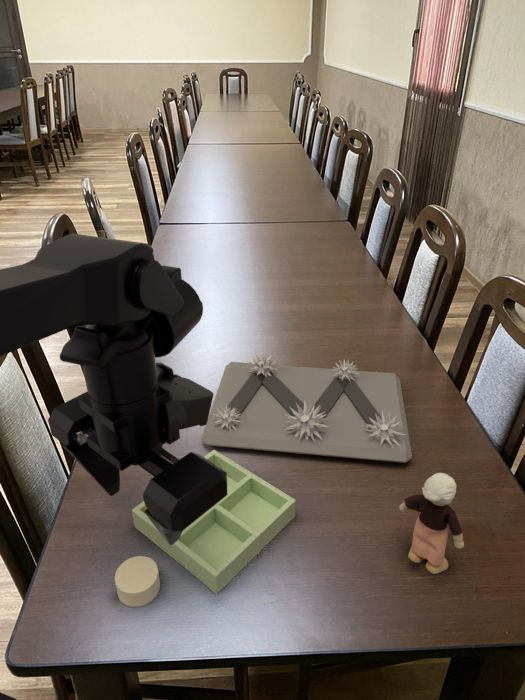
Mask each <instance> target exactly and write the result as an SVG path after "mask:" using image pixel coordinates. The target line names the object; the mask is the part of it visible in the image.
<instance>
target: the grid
mask: <svg viewBox="0 0 525 700" xmlns="http://www.w3.org/2000/svg"><path fill="white" fill-rule="evenodd" d="M203 457H204V458H206V459H207V460H209V461H210V462H212V463H213V464H215V465H216V466H218V467H219V468H221V469H222V470H224V471H225V472H227V496H225V497H224V498H223V499H222V500H220V501H219V502H218V503H217V504H215V505H214V506H213V507H212V508H211V509H209V510H208V511H207V512H206V513H204V514H203V515H202V516H201V517H199V518H198V519H197V520H196V521H194V522H193V523H192V524H191V525H189V526H188V527H187V528H186V529H184V530H183V531H182V534H181V536H180V538H179V540H178V541H176V542H175V543H174V544H173V545H169V544H168V543H167V542H166V540H165V539H164V538H163V537H162V535H161V534H160V532H159V531H158V530H157V528H156V527H155V526H154V524H153V523H152V521H151V520H150V519H149V517H148V516H147V515H146V513H145V510H146V509H148V508H147V507H146V505H145V503H144V500H143V501H142V502H140V503H139V504H138V505H137V506H135V507H134V508H132V509H131V514H132V520H133V525H134V526H133V527H134V528H135V529H137V530H138V531H139V532H140V533H141V534H143V535H144V537H146V538H147V539H149V540H150V541H151V542H152V543H153V544H155V545H156V546H157V547H158V548H159V549H160V550H162V551H163V552H164V553H166V554H167V555H169V556H170V557H171V558H172V559H173V560H174V561H176V562H177V563H178V564H180V565H181V566H182V567H183V568H184V569H185V570H187V571H188V572H189V573H190V574H192V575H193V576H194V577H195V578H196V579H197V580H198V581H200V582H201V583H203V584H204V585H205V586H207V588H208V589H210V590H211V591H212V592H214V594H216V595H218V594H219V593H220V592H221V591H222V590H223V589H224V588H225V587H226V586H227V585H228V584H229V583H230V582H231V581H232V580H233V579H234V578H235V577H236V576H237V575H238V574H239V573H240V572H241V571H242V570H243V569H244V568H245V567H246V566H247V565H248V564H249V563H250V562H251V561H253V559H254V558H255V557H256V556H258V554H259V553H261V551H262V550H263V549H264V548H265V547H266V546H267V545H268V544H269V543H270V542H271V541H272V540H273V539H274V538H275V537H276V536H277V535H278V534H279V533H280V532H281V531H282V530H283V529H284V528H285V527H286V526H288V524H289V523H291V522H292V521H293V519H295V517H296V505H297V500H296V499H295V498H293V497H292V496H290V495H288V494H287V493H285V492H284V491H282V490H280V489H279V488H278V487H276V486H274V485H272V484H271V483H269V482H267V481H266V480H264V479H263V478H261V477H259V476H258V475H257V474H254V473H253V472H252V471H249V470H248V469H247V468H245V467H243V466H242V465H240V464H239V463H237V462H235V461H234V460H232V459H230V458H229V457H227V456H226V455H224V454H222V453H220V452H219V451H217V450H216V449H213V450H211V451H210V452H209V453H206V455H204V456H203Z"/></svg>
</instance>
